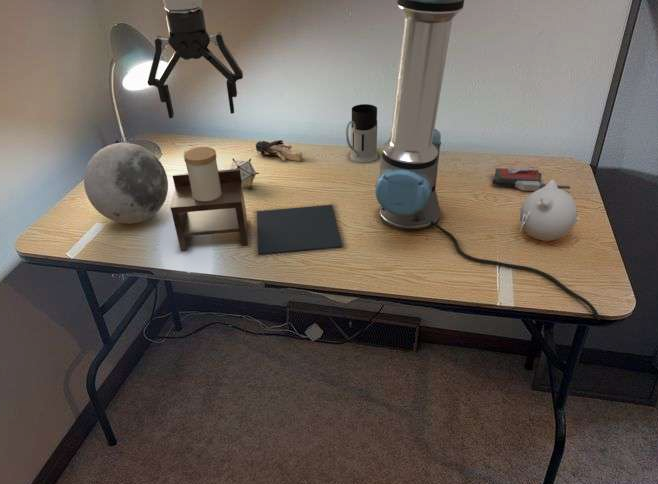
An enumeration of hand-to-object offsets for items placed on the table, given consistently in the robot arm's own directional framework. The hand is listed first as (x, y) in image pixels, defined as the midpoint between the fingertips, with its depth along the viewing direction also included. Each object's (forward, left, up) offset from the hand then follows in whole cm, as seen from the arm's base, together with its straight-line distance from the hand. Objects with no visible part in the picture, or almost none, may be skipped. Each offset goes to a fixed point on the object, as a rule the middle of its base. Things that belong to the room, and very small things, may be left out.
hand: (202, 113), depth 121 cm
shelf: (-4, +5, -29) cm, 29 cm away
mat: (-18, -9, -29) cm, 35 cm away
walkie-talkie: (-56, -64, -29) cm, 89 cm away
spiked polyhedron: (+9, -18, -29) cm, 35 cm away
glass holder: (-8, -51, -29) cm, 59 cm away
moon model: (+20, +11, -29) cm, 37 cm away
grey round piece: (-69, -41, -29) cm, 85 cm away
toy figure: (+14, -39, -29) cm, 50 cm away
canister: (-4, +6, -17) cm, 18 cm away
